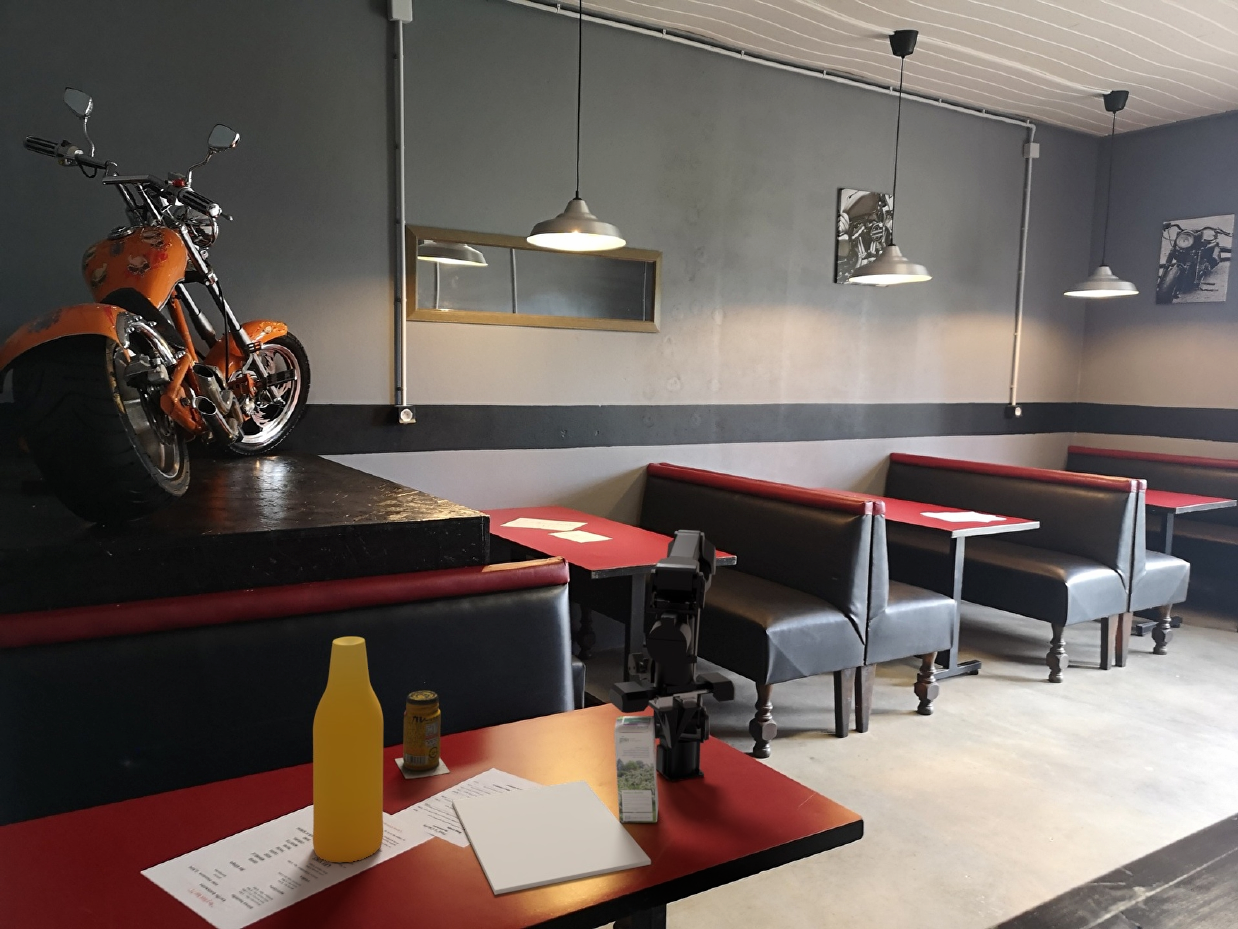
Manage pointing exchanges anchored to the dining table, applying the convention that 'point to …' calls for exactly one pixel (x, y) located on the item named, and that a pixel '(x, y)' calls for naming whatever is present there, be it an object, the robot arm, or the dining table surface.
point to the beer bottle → (348, 759)
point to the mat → (546, 836)
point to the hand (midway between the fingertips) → (671, 747)
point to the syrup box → (636, 769)
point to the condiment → (421, 737)
